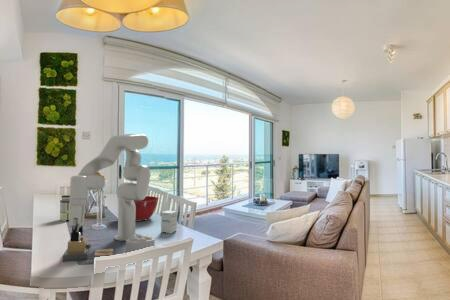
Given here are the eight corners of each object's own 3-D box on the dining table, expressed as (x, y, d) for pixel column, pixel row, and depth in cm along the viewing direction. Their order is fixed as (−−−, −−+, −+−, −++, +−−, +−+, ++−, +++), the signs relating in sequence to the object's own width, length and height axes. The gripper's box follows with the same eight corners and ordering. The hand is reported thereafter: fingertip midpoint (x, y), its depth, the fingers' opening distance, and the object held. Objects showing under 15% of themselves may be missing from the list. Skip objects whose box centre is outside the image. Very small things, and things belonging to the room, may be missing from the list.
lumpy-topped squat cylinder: (156, 254, 143) (156, 236, 143) (128, 259, 136) (129, 240, 136) (149, 248, 152) (149, 231, 152) (123, 253, 145) (123, 235, 145)
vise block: (68, 253, 143) (69, 230, 143) (91, 251, 146) (91, 229, 146) (62, 261, 132) (63, 237, 132) (87, 260, 135) (87, 235, 135)
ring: (70, 248, 141) (71, 238, 141) (86, 247, 143) (87, 237, 143) (67, 253, 134) (67, 242, 134) (84, 252, 136) (84, 241, 136)
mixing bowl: (111, 218, 218) (112, 197, 218) (147, 213, 237) (147, 194, 237) (127, 226, 197) (128, 202, 197) (165, 220, 216) (165, 199, 216)
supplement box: (160, 232, 183) (161, 212, 183) (167, 229, 189) (167, 210, 190) (170, 234, 180) (171, 213, 180) (177, 231, 187) (177, 211, 187)
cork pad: (96, 251, 147) (96, 249, 147) (113, 249, 149) (113, 248, 149) (94, 256, 139) (94, 255, 139) (112, 255, 141) (112, 253, 141)
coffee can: (65, 217, 218) (66, 198, 218) (78, 218, 217) (79, 199, 217) (56, 220, 208) (56, 200, 208) (70, 221, 207) (70, 201, 207)
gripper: (73, 199, 146) (71, 234, 146) (65, 204, 130) (63, 244, 129) (89, 199, 148) (88, 233, 148) (83, 204, 132) (82, 243, 131)
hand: (76, 238), depth 138 cm, fingers open, 9 cm apart
